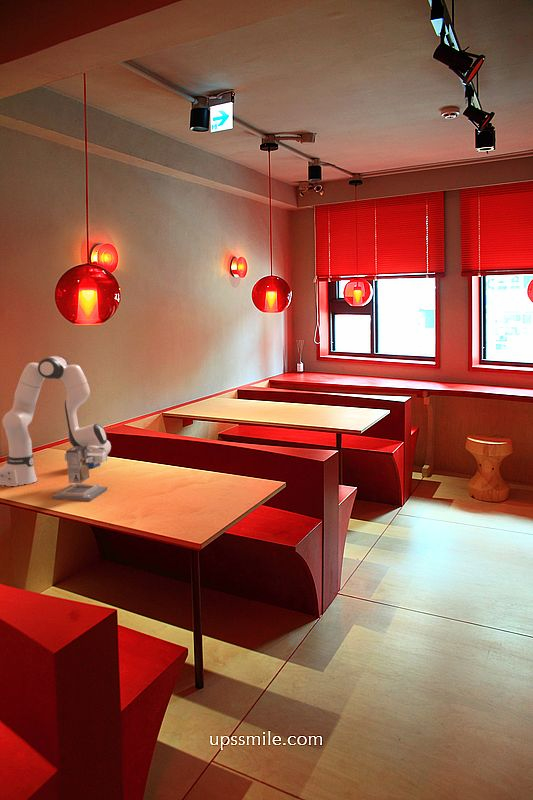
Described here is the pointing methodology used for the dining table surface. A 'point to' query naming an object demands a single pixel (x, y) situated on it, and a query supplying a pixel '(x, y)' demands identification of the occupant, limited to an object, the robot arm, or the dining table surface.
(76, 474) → the coffee box
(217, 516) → the dining table surface
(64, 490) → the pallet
